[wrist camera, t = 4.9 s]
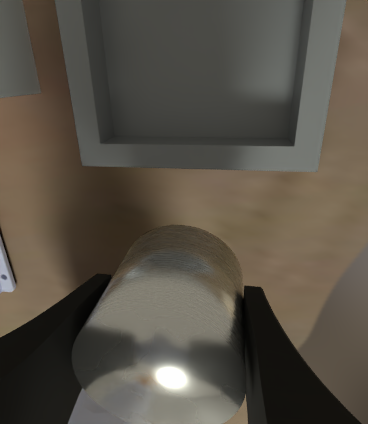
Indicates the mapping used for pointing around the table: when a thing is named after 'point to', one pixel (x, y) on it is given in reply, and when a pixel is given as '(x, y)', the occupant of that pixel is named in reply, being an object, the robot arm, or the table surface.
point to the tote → (200, 81)
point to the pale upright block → (16, 52)
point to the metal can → (168, 332)
